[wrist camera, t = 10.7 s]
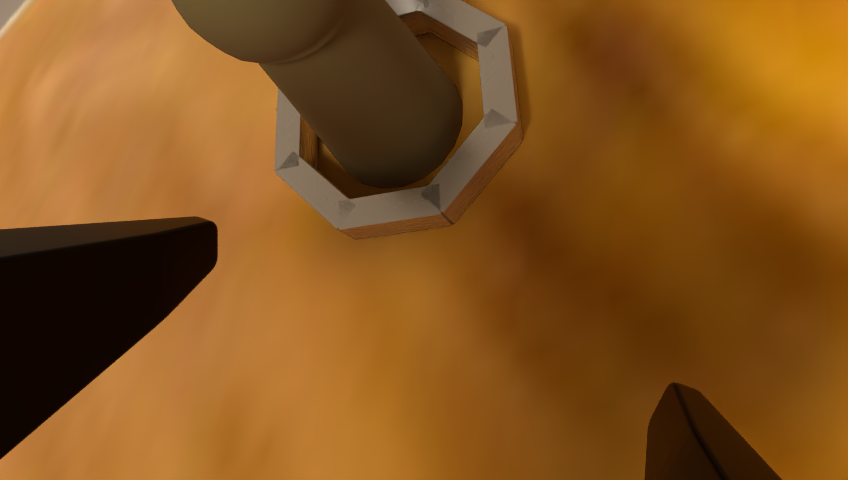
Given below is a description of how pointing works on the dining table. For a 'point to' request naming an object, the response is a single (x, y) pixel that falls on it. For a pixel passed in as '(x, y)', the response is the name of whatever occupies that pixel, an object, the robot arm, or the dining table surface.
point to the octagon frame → (464, 172)
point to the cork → (345, 78)
